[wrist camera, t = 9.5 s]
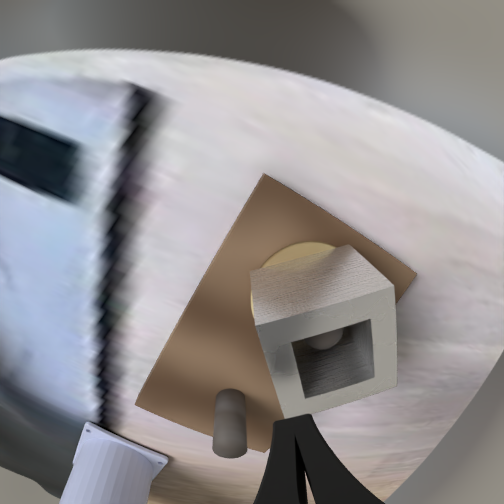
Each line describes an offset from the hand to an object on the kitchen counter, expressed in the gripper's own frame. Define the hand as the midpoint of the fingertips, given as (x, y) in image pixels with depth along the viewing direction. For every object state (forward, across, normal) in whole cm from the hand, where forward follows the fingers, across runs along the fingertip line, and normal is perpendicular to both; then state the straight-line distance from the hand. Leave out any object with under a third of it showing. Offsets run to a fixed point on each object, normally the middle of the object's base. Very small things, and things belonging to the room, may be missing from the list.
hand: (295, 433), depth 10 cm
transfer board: (+9, +1, +2) cm, 10 cm away
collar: (+8, -2, -1) cm, 8 cm away
